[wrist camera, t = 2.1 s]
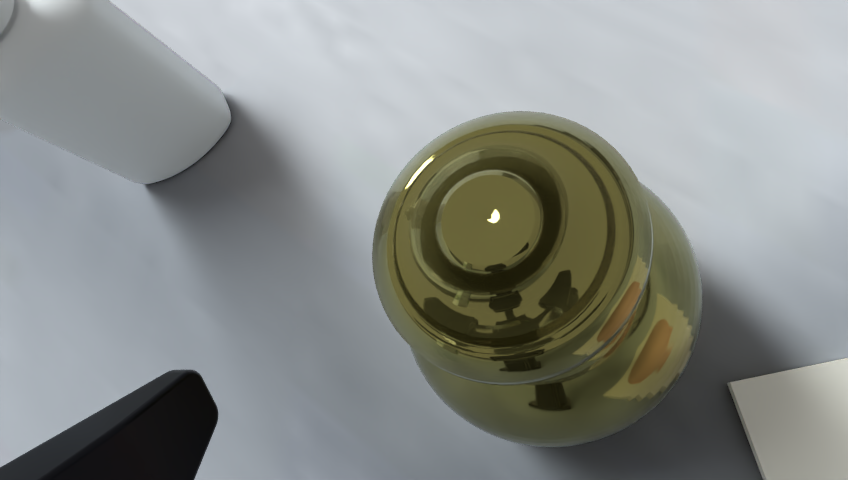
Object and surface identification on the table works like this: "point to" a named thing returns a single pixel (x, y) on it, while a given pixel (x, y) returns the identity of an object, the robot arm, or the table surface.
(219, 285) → the table surface
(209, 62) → the table surface
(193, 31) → the table surface
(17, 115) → the eye dropper bottle
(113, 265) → the table surface
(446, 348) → the brass door knob
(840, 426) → the card
